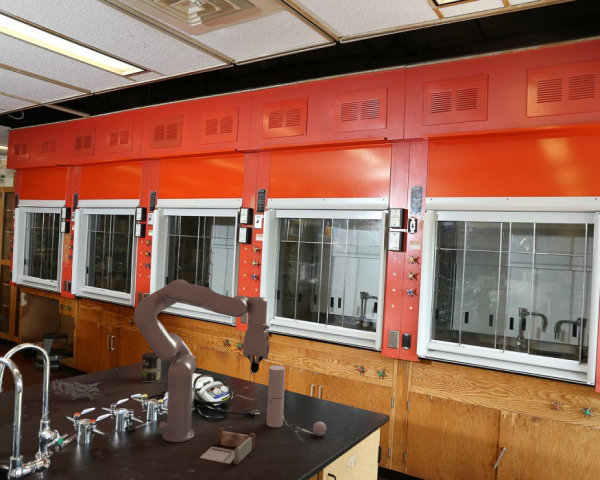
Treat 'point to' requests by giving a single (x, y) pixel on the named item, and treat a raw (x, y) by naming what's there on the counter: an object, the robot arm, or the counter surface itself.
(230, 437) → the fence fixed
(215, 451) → the card
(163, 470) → the counter surface
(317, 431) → the pinkish brown egg
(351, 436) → the counter surface
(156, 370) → the coffee can
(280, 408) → the cylindrical container
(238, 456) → the cream flat slab
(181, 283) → the robot arm
